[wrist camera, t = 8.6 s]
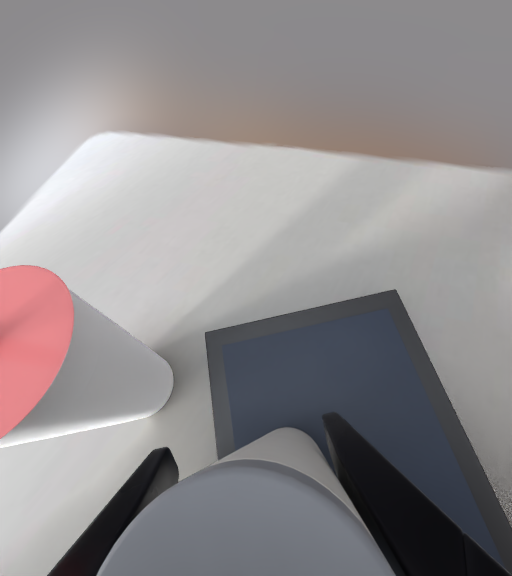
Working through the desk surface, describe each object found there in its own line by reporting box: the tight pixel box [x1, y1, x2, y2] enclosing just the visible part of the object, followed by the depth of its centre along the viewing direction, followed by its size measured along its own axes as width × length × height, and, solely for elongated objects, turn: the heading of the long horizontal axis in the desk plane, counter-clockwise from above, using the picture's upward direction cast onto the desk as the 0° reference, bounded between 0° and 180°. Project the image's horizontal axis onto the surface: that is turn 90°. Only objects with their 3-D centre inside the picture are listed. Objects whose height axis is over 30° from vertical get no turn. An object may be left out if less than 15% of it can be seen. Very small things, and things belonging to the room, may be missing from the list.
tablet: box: [205, 290, 512, 574], centre depth 11 cm, size 20×11×1 cm, turn 10°
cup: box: [0, 265, 174, 448], centre depth 10 cm, size 5×5×12 cm
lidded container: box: [97, 427, 396, 576], centre depth 7 cm, size 3×3×11 cm
